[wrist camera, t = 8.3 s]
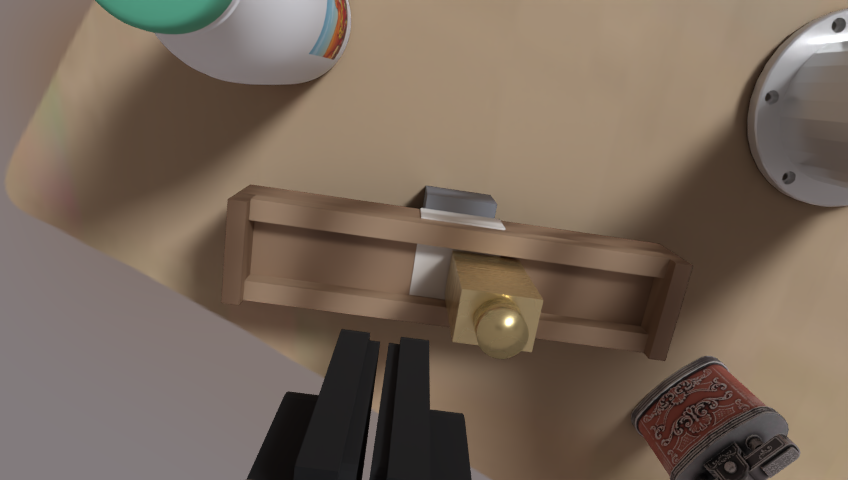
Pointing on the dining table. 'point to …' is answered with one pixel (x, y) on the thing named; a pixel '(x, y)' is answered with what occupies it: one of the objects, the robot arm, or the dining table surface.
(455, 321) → the rider
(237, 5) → the milk bottle
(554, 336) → the beam
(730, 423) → the lighter
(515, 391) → the dining table surface
